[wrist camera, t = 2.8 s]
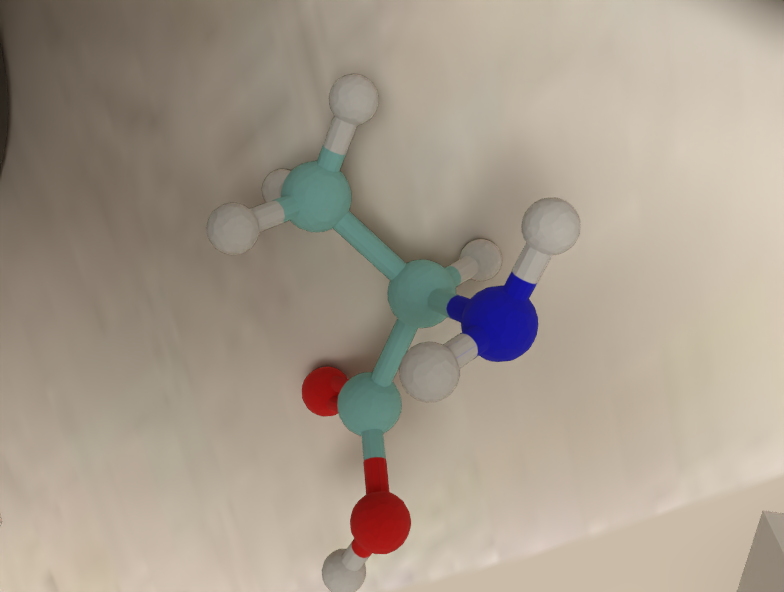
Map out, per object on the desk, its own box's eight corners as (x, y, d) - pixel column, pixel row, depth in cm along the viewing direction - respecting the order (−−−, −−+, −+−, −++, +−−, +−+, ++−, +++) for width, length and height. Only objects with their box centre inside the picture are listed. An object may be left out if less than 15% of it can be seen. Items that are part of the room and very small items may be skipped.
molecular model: (52, 212, 19) (95, 395, 11) (344, 28, 21) (567, 71, 13) (268, 472, 26) (396, 708, 18) (480, 315, 27) (687, 465, 19)
